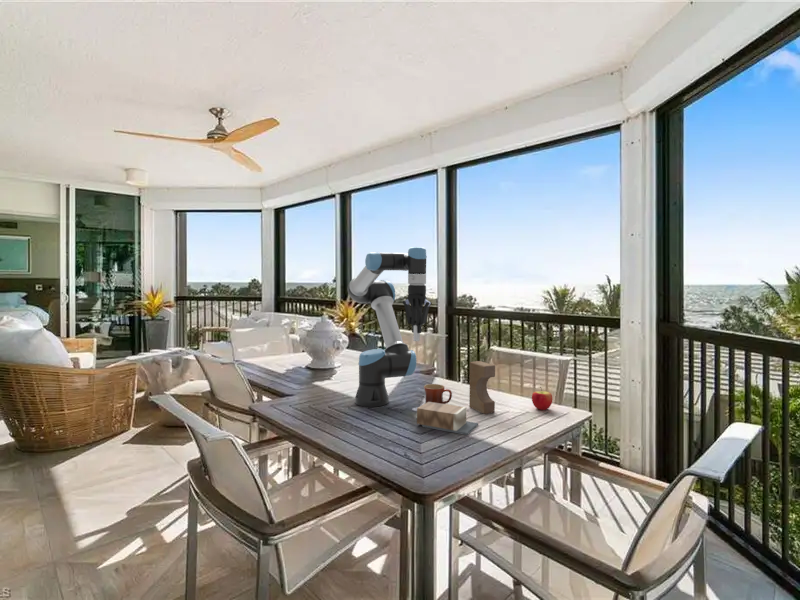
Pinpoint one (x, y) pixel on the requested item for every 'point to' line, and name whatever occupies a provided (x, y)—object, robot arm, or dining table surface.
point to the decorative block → (481, 387)
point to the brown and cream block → (441, 415)
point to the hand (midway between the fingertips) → (416, 340)
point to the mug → (436, 393)
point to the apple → (542, 399)
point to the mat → (463, 430)
